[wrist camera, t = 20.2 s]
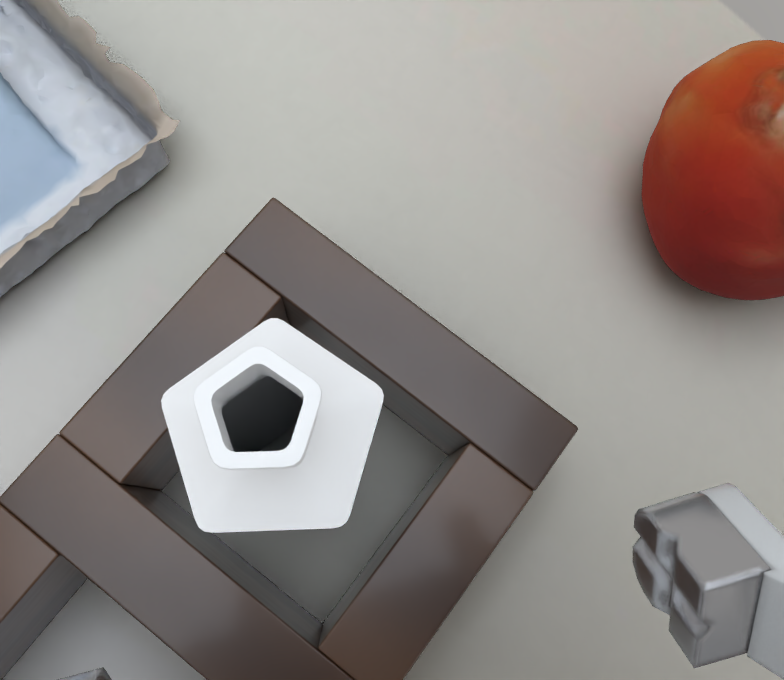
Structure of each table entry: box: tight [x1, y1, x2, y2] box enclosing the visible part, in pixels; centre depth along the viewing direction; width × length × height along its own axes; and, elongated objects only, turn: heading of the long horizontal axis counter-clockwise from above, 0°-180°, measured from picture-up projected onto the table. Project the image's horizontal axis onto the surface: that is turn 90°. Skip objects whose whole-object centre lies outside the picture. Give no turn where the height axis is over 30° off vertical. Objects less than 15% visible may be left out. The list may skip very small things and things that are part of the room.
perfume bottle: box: [161, 318, 384, 533], centre depth 19 cm, size 5×4×15 cm
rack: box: [0, 198, 578, 680], centre depth 23 cm, size 22×12×5 cm, turn 142°
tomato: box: [642, 40, 784, 300], centre depth 26 cm, size 9×9×8 cm
